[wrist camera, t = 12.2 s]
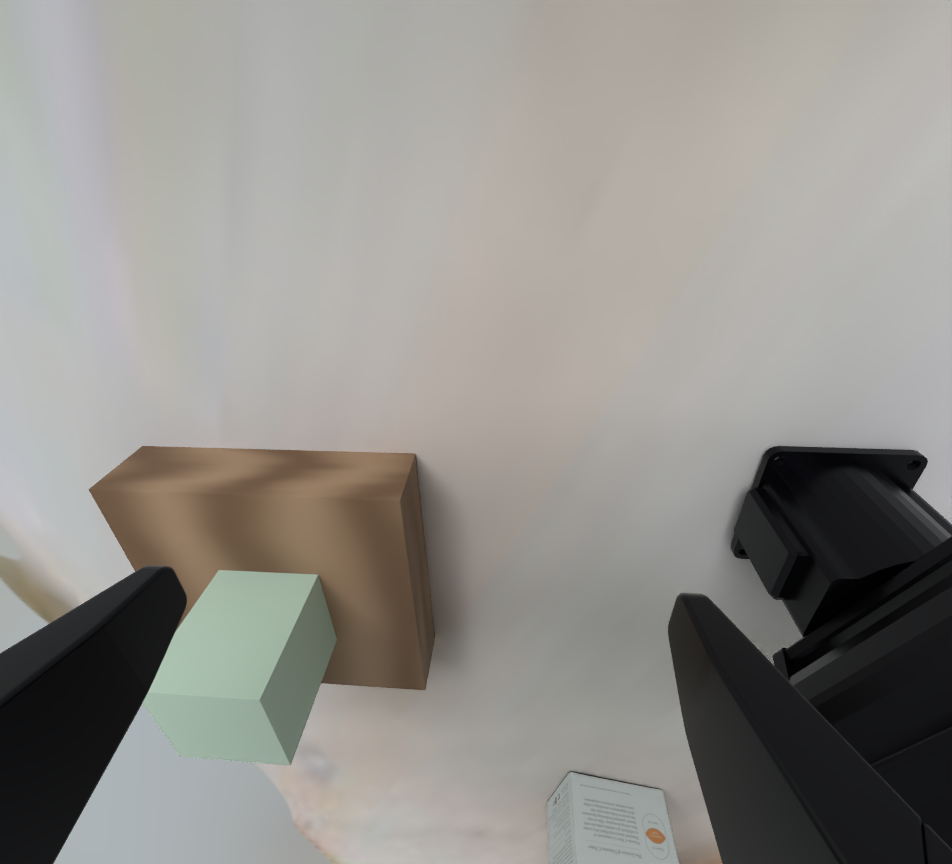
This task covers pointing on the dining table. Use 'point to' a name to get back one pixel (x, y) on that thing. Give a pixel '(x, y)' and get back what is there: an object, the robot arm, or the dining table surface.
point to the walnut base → (291, 539)
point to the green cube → (244, 668)
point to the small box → (608, 823)
